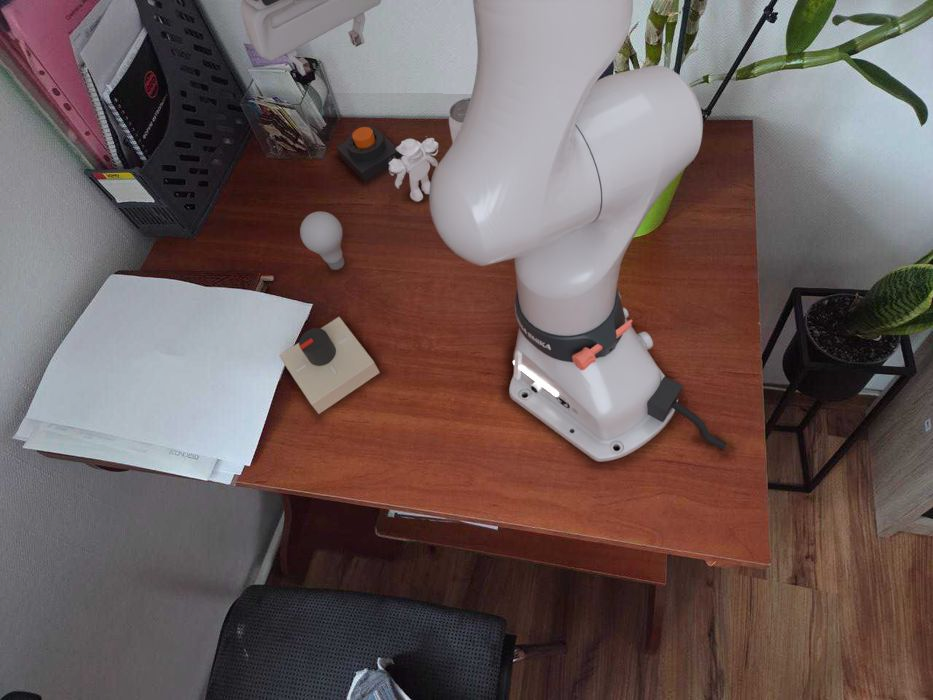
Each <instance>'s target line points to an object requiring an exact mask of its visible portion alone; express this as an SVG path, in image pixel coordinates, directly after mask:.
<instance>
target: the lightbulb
mask: <svg viewBox="0 0 933 700" xmlns="http://www.w3.org/2000/svg"><path fill="white" fill-rule="evenodd" d="M299 235H300V239H301V241H302V243H303V245H304V246H305V247H306V248H307V249H308V250H309V251H310V252H313V253H315V254H317V255H318V256H319V257H321V258H322V260H323V261H324V262H325V263H326V264H327V266H328V267H329V268H330V269H331V270H333V271H338V270H341V269H342V268H344V265H345V262H346V261H345V259H344V258H345V257H344V256H343V250H342V247H341V245H342V241H343V227H342V224H341V222H340V221H339V220H338V218H337V217H336V216H335V215H334V214H331V213H330V212H327V211H320V210H319V211H314V212H312V213H310V214H308V215H306V216H305V218H304V219H303V221H302V222H301V224H300V228H299Z"/></svg>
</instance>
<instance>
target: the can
mask: <svg viewBox="0 0 933 700" xmlns="http://www.w3.org/2000/svg"><path fill="white" fill-rule="evenodd" d="M470 99H471V97H467V98H462V99H460V100H457V101H456V102H454V103H453V104H452V106H450V109H449V117H448V126H449V132H450V137H451V142H452V143H451V144H453V142H454V140H455V138H456V136H457V134H458V132H459V130H460V128H461V126H462V123H463V121H464V118H465V115H466V112H467V110H468V106H469V103H470Z"/></svg>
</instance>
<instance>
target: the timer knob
mask: <svg viewBox="0 0 933 700" xmlns="http://www.w3.org/2000/svg"><path fill="white" fill-rule="evenodd" d="M298 343H299V347H300V348H301V350H302V351H303V353H304V354H305V356H306V357H307V359H308V360H309V361H310V363H311V364H313V365H316V366H323V365H326V364H328V363H329V362H331V361H332V360H333V358H334V357H335V354H336V348H335V346H334V344H333V343H332V341H331V339H330V338H329V336H328V334H327V333H326V331H324V330H323V329H321V328H320V327H312V328H310V329H308V330H306V331H305V332H304V333H303V334H302V335H301V336H300V338H299V341H298Z"/></svg>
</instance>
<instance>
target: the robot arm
mask: <svg viewBox="0 0 933 700" xmlns="http://www.w3.org/2000/svg"><path fill="white" fill-rule="evenodd" d="M381 3H382V0H241V3H240V15H241V18H242V22H243V25H244V28H245V31H246V34H247V36H248V37H247V38H248V39H249V42H250V44H251V46H252V48H253V50H254V51H255V53H256V54H257V55H258V56H259V57H260V58H261V59H263V60H265V61H267V62H274V61H275V60H277V59H279V58H281V57H283V56H284V57H286V58H287V59H288V60H289V61H290V62H292V63H293V64H294V65H295V67H296V69H297V71H298V73H299V74H300V75H301V76H302V77H304V76H306V75H308V74H309V73H311V72H312V69H311V67H310V63H309V61H308V60H307V59H305V58H304V56H301V57H299V58H298V57H297V56H298V52H297V50H296V49H298V48H300V47H302V46H304V45H306V44H308V43H309V42H311V41H314V40H315V39H318V38H319V37H321V36H323V35H325V34H326V33H328V32H330V31H333V30H334V29H336V28H338V27H339V26H342V25H343V24H346V23H347V22H349V21H351V20H353V21H352V29H351V30H349V31H348V32H347V33H348V37H349V40H350V42H351V44H352V45H353V46H354V47H355V48H357V47H359V46H361V45H363V44H364V43H365V38H364V35H363V32H364V27H365V23H366V16H365V13H366V12H368V11H370V10H371V9H374V8H375V7H377V6H379V5H380V4H381ZM472 7H473V15H474V23H475V34H476V43H477V44H476V46H477V47H476V48H477V58H476V59H477V60H476V70H475V77H474V83H473V88H472V91H471V97H470V98H471V99H470V103H469V106H468V110H467V112H466V115H465V118H464V121H463V123H462V126H461V128H460V130H459V132H458V134H457V136H456V138H455V140H454V142H453V143H451V145H450V147H449V149H448V150H447V152H446V153H445V154H444V156H443V157H442V158H441V160H440V161H439V162H438V165H437V167H435V168H434V170H433V173H432V177H431V180H430V183H431V184H430V191H429V194H428V204H429V212H430V215H431V216H430V217H431V220H432V223H433V225H434V228H435V230H436V232H437V234H438V236H439V237H440V238H441V240H442V242H444V244H445V245H446V247H448V248H449V249H450V250H451V251H452V252H453V253H454V254H455V255H457V256H458V257H459V258H461V259H463V260H465V261H466V262H468V263H471V264H473V265H476V266H479V267H486V266H490V265H493V264H498V263H501V262H505V261H509V260H513V259H514V271H515V278H516V287H517V289H516V291H515V299H514V301H515V302H514V314H515V317H516V318H515V319H516V322H517V326H518V330H517V337H516V343H515V347H514V350H513V355H512V364H513V365H512V366H513V374H512V378H511V380H510V383H509V386H508V395H509V397H510V399H511V400H512V401H513V402H515V403H517V405H519V406H520V407H522V408H523V409H524V410H525V411H527V412H528V413H530V414H531V415H533V416H534V417H535V418H537V419H538V420H540V421H541V422H542V423H543V424H545V425H546V426H547V427H549V428H550V429H551V430H553V431H554V432H555V433H557V434H558V435H559V436H560V437H562V438H564V440H566V441H568V442H569V443H570V444H572V445H573V446H574V447H576V448H577V449H578V450H580V451H581V452H582V453H584V454H585V455H587V456H588V457H589V458H590V459H592V460H593V461H595V462H601V463H602V462H611V461H614V460H618V459H620V458H623V457H626V456H628V455H630V454H631V453H634V452H635V451H637V450H638V449H640V448H642V447H643V446H645V445H646V444H647V443H648V442H650V441H651V440H652V439H653V438H654V437H656V436H657V435H658V434H659V433H660V432H661V431H662V430H663V429H664V428H665V427H666V426H667V424H668V423H669V422H670V421H671V419H672V417H673V416H674V414H675V412H677V413H678V414H680V415H682V416H683V417H685V418H686V419H687V420H689V421H690V422H691V423H692V424H693V425H695V426H696V428H697V429H698V431H699V434H700V435H701V437H702V438H703V439H704V440H705V441H706V442H707V443H709V444H711V445H712V446H714V447H716V448H718V449H720V450H722V451H723V450H724V449H725V448H726V446H727V445H728V443H727V442H726V441H723V440H721V439H719V438H717V437H715V436H714V435H712V434H711V433H710V432H709V429H708V426H707V425H706V423H705V422H704V421H703V420H702V419H701V418H700V417H699V416H698V415H697V414H695V413H694V412H693V411H692V410H690V409H688V408H687V407H685V405H682V403H680V402H679V398H680V396H681V393H682V390H683V387H684V385H682V384H681V383H678V382H676V381H675V380H673V379H671V378H669V377H667V376H666V375H665V374H664V373H663V371H662V370H661V369H660V367H659V366H658V365H657V363H656V362H655V360H654V359H653V356H651V354H650V352H649V350H650V349H652V348H653V347H654V342H653V339H652V337H651V335H650V334H649V333H648V332H647V331H641V332H639V333H637V332H636V331H635V329H634V327H633V319H632V318H631V319H629V320H628V317H629V316H630V315H629V311H628V310H627V308H625V307H623V304H622V301H621V293H620V292H619V290H618V282H619V278H620V277H619V276H620V271H621V266H622V262H623V259H624V256H625V254H626V252H627V250H628V248H629V247H630V245H631V243H632V241H633V240H634V237H635V236H636V234H637V232H638V231H639V229H640V227H641V226H642V224H643V223H644V221H645V219H646V218H647V216H648V214H649V213H650V211H651V210H652V208H653V207H654V206H655V203H656V202H657V201H658V199H659V198H660V197H661V195H663V192H665V191H666V189H667V188H668V187H669V186H670V184H672V182H673V181H675V179H676V178H677V177H678V176H679V175H680V174H681V173H682V172H683V171H684V170H685V169H686V168H687V167H688V166H689V165H690V164H691V163H692V162H693V161H694V160H695V159H696V157H697V155H698V153H699V151H700V148H701V145H702V139H703V131H704V119H703V112H702V109H701V108H702V107H701V105H700V103H699V102H700V101H699V100H698V97H697V96H696V93H695V92H694V89H693V88H692V87H691V86H690V84H689V83H688V82H687V80H685V79H684V78H683V76H681V75H680V74H679V73H677V72H676V71H674V70H673V69H672V68H669V67H668V66H667V67H666V66H664V65H657V64H656V65H650V66H645V67H639V68H635V69H631V70H625V71H622V72H617V73H613V74H609V75H607V76H604V77H602V78H601V76H602V75H603V74H604V72H605V71H606V70H607V68H609V66H610V65H611V64H612V63H613V61H614V59H615V58H616V57H617V55H619V53H620V51H621V49H622V47H623V46H624V43H625V41H626V40H627V37H628V34H629V32H630V28H631V25H632V20H633V13H634V12H633V11H634V10H633V9H634V0H472ZM524 395H525V396H527V397H523V396H524ZM616 447H617V448H618V449H619V450H615V449H614V448H616Z"/></svg>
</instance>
